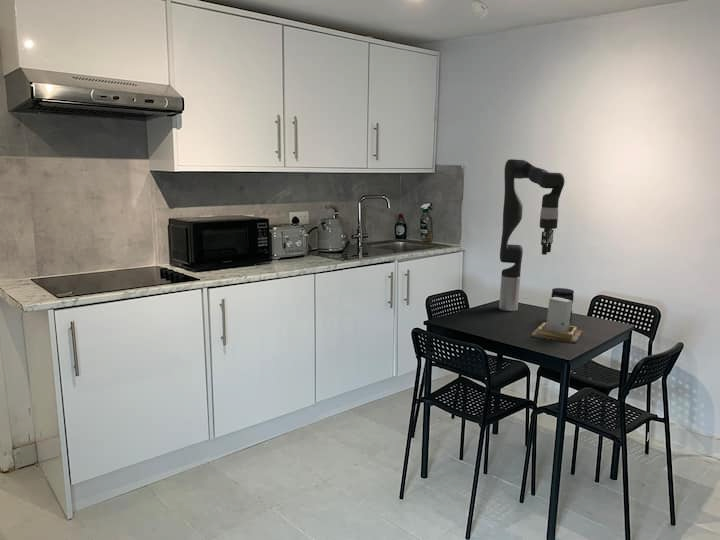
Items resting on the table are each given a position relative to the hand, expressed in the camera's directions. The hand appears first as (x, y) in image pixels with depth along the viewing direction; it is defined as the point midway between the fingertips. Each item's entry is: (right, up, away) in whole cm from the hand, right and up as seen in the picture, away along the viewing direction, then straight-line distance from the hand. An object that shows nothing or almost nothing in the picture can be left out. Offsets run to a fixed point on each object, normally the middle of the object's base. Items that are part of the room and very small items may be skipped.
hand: (546, 253), depth 251 cm
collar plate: (+1, -36, -11) cm, 37 cm away
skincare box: (+1, -35, -11) cm, 36 cm away
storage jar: (+11, -32, +12) cm, 36 cm away
